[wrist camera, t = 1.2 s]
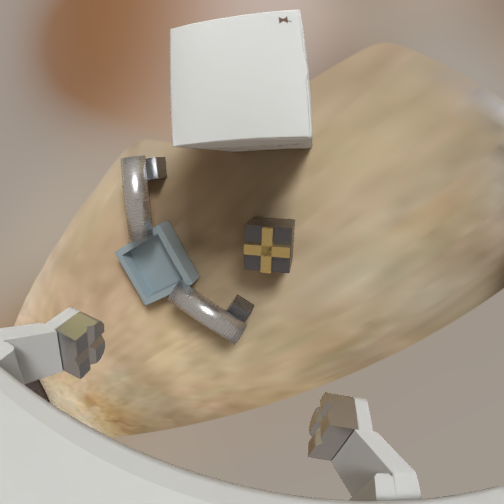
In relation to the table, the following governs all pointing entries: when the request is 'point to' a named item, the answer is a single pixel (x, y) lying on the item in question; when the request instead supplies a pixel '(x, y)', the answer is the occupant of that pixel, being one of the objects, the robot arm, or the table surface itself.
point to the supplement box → (241, 83)
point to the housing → (157, 263)
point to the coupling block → (269, 244)
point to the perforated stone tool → (37, 389)
